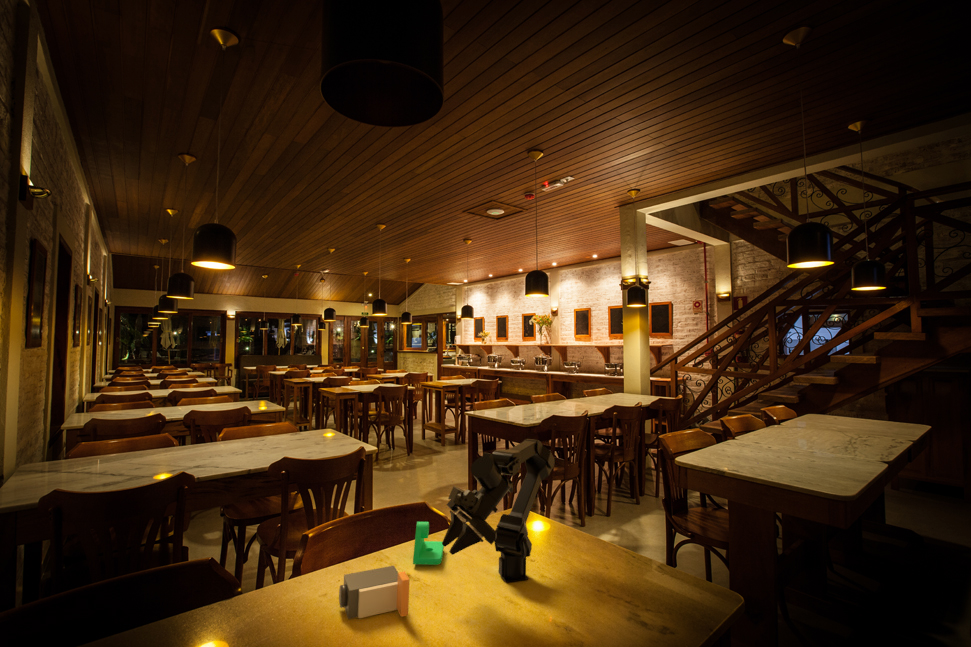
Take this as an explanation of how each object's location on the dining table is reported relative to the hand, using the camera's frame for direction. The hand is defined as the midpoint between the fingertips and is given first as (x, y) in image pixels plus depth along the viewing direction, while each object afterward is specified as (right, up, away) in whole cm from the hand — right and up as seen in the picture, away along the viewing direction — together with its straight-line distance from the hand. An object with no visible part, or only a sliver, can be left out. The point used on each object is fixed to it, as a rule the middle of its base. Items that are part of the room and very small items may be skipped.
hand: (446, 549), depth 103 cm
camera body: (-18, -12, -1) cm, 21 cm away
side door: (-14, -11, -7) cm, 19 cm away
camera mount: (-7, -15, +23) cm, 29 cm away
